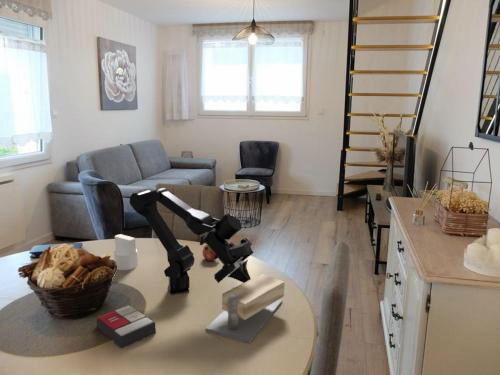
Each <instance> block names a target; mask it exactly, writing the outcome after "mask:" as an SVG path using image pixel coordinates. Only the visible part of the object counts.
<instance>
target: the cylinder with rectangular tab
mask: <svg viewBox="0 0 500 375" xmlns="http://www.w3.org/2000/svg"><path fill="white" fill-rule="evenodd" d="M136 242H137V241H136V238H135V237H132V236H128V235H127V234H126V235H124V234H121V233H120V234H116V235H114V245H115V246H114V247H115V250H114V251H113V260H114V261H116V262H117V264H118V269H117V270H118V271H130V270H133V269H136V268H137V267H138V266H139V257H138V256H139V255H138V249H137V245H136V244H137V243H136Z"/></svg>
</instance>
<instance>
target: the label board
mask: <svg viewBox="0 0 500 375" xmlns="http://www.w3.org/2000/svg"><path fill="white" fill-rule="evenodd" d="M282 303H283V300H282V299H281V298H280V299H279V300H277V301H275V302H274V303H272V304H270V305H269V306H267V307H265V308H264V309H262V310H261V311H259V312H257V313H256V314H254V315H252V316H251V317H249V318H248V319H246V320H244V319H242V318H240V317H238V329H236V330H230V329H229V328H228V312H227V311H225V310H223V311H222V312H221V313H219V315H217V316H216V317H215V319H214V320H213V321H212V322H210V323H209V324H208V325H207V326H206V327H205V332H208V333H213V334H216V335H219V336H223V337H226V338H228V339H229V338H230V339H232V340H235V341H239V342H242V343H246V344H251V343H250V342H251V341H253V339H254V338H255V337H256V335H257V334H258V333H259V332H260V330H262V328H263V327H264V325H265V324H266V323H267V321H268V320H269V319H270V318H271V317H272V316H273V314H274V313H275V312H276V311H277V309H279V307H280V306H281V304H282Z"/></svg>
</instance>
